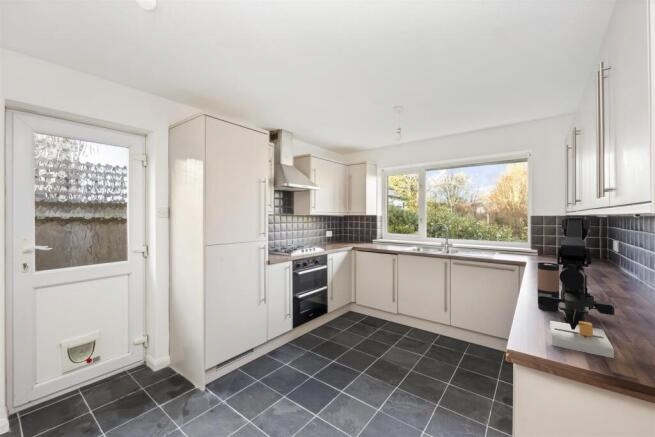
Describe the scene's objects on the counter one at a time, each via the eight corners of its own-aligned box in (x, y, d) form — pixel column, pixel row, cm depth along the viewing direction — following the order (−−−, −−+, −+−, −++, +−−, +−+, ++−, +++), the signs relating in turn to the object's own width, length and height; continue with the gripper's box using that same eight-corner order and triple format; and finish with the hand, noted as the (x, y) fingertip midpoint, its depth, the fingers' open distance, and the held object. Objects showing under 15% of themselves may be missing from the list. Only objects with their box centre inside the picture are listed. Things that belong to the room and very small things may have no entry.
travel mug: (537, 305, 131) (537, 261, 130) (559, 308, 126) (559, 263, 126) (536, 309, 125) (536, 263, 125) (559, 313, 120) (559, 265, 120)
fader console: (549, 327, 104) (549, 320, 104) (602, 336, 96) (602, 329, 96) (551, 345, 90) (551, 336, 90) (613, 358, 82) (613, 349, 81)
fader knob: (578, 330, 94) (578, 321, 94) (590, 332, 92) (590, 323, 92) (580, 334, 91) (580, 324, 91) (592, 336, 89) (592, 326, 89)
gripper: (537, 282, 93) (537, 330, 93) (618, 291, 82) (618, 345, 82) (537, 276, 102) (537, 320, 102) (610, 284, 90) (610, 333, 91)
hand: (572, 329), depth 94 cm, fingers closed
